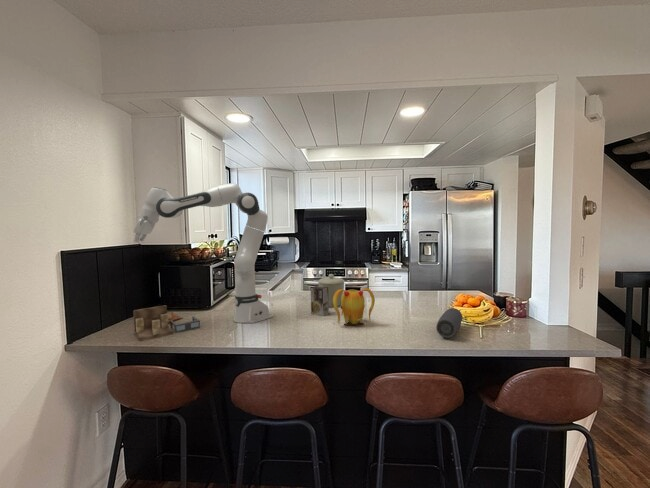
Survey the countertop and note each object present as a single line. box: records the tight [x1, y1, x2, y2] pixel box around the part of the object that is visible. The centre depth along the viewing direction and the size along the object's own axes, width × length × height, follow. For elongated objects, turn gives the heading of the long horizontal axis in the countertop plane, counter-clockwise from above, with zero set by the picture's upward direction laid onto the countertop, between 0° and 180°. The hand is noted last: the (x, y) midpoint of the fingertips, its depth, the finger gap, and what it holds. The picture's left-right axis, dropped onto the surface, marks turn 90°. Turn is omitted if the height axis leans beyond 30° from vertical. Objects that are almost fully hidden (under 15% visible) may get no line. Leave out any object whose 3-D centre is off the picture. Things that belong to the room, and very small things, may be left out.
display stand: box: [133, 304, 175, 342], centre depth 157 cm, size 15×14×12 cm
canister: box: [317, 273, 346, 308], centre depth 206 cm, size 18×18×21 cm
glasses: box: [169, 315, 201, 334], centre depth 165 cm, size 12×10×4 cm
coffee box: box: [310, 285, 330, 316], centre depth 187 cm, size 9×6×16 cm
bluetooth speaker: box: [436, 307, 463, 338], centre depth 151 cm, size 23×9×10 cm, turn 149°
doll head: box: [333, 287, 376, 328], centre depth 167 cm, size 22×15×20 cm
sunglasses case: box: [167, 312, 183, 325], centre depth 177 cm, size 18×7×7 cm
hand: (138, 241), depth 163 cm, fingers open, 8 cm apart
